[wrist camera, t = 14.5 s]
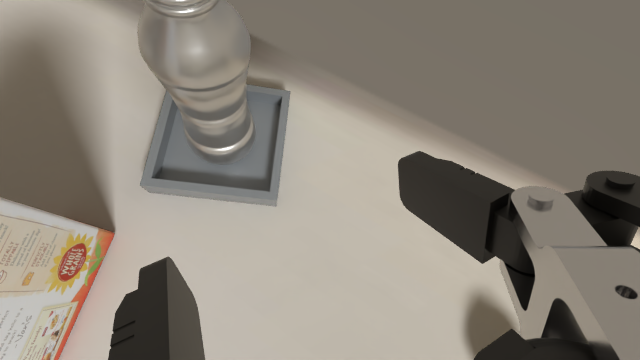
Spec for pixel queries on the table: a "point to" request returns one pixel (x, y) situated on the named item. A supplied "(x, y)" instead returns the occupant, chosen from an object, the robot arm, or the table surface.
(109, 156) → the table surface
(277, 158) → the bottle tray
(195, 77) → the plastic bottle
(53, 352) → the cracker box
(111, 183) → the table surface
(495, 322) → the table surface
